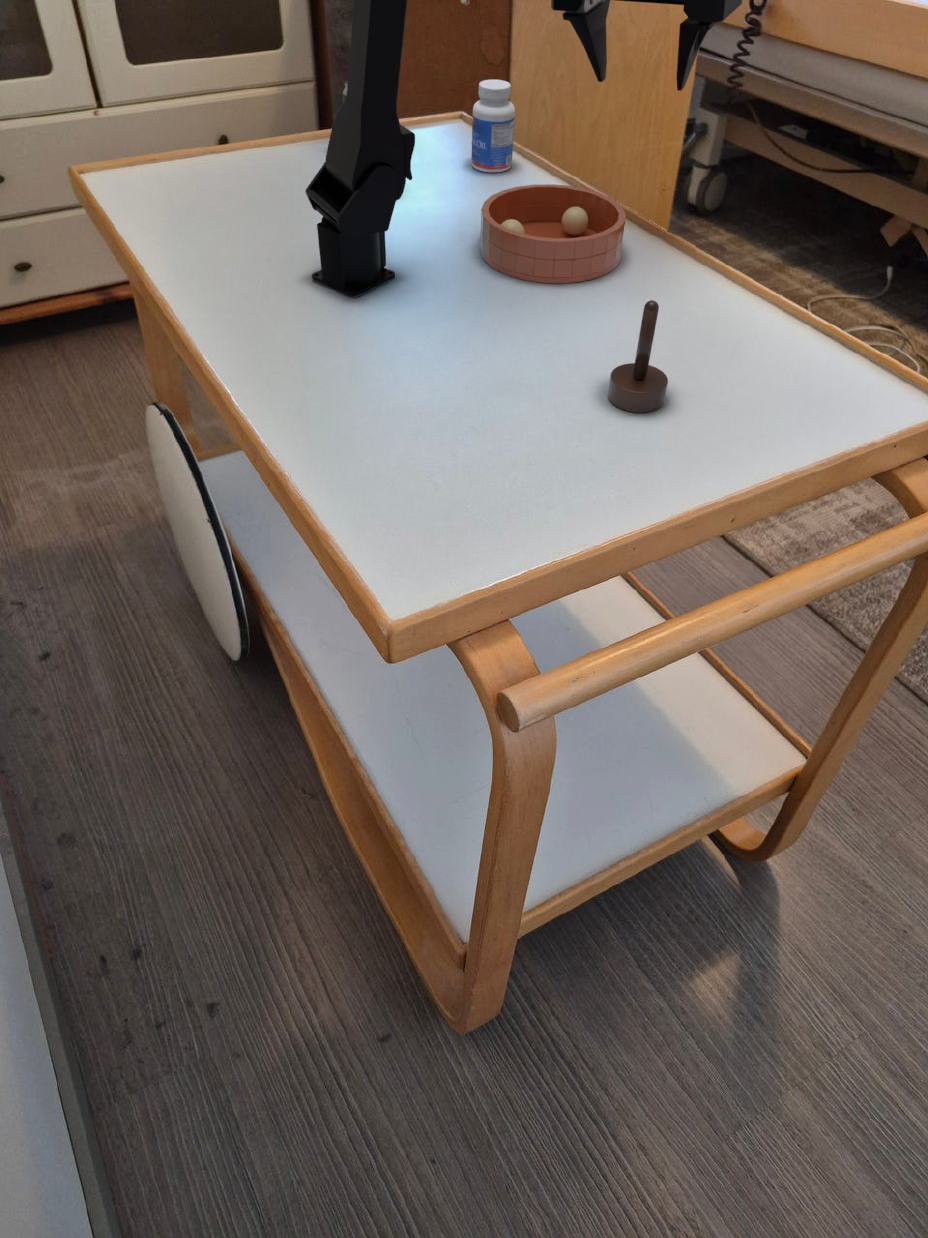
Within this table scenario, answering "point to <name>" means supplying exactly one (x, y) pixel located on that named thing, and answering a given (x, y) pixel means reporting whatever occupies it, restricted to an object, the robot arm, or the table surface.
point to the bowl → (551, 234)
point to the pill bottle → (493, 127)
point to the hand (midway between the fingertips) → (640, 84)
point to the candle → (338, 46)
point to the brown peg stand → (640, 372)
